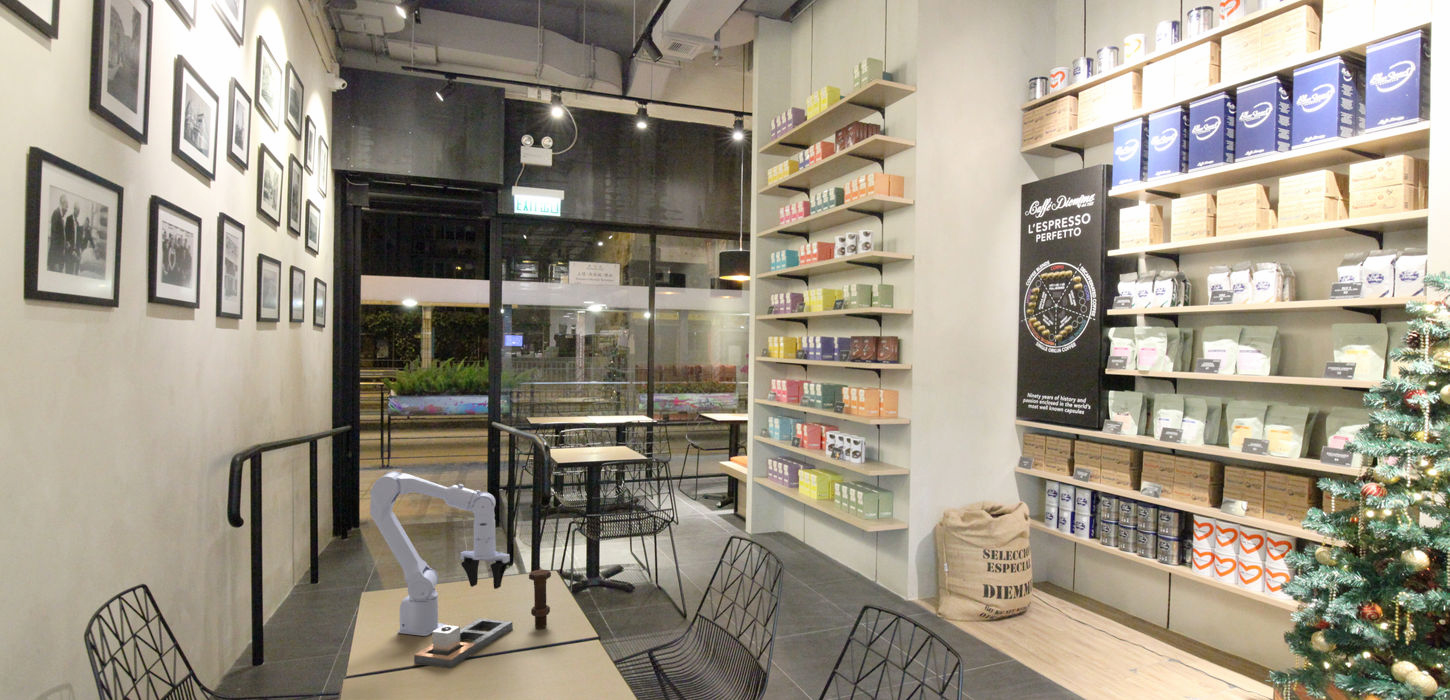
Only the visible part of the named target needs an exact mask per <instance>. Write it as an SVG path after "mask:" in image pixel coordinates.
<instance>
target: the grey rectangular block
mask: <svg viewBox="0 0 1450 700" xmlns="http://www.w3.org/2000/svg"><path fill="white" fill-rule="evenodd" d="M460 629H461V627H460V626H455V625H449V624H448V625H447V624H445V625H444V626H442V627H440V628H438V629H437V630H435V631H433V633H432V644H433V654H437V655H445V656H448V655H450V654H452V653H453V652H455V651H457V650H458V649H460V642H461V641H460Z"/></svg>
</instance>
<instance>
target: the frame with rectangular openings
mask: <svg viewBox="0 0 1450 700" xmlns="http://www.w3.org/2000/svg"><path fill="white" fill-rule="evenodd" d="M513 627H514V626H513V621H508V620H500V619H491V618H490V619H489V618H481V617H479V618H477V619H476V620H474V621H472V622H470V623H469V624H467V625H465V626H463V627H462V628H461V627H460V649H458V650H457V651H455V652H453V653H452V654H450V655H448V656H445V655H437V654H433V643H432V644H430V645H429V646H426V647H425V648H423V649H421V650H420V651H418V652H416V653H415V654H414V655H413V656H414V657H413V658H414V659H413V660H414V661H413V664H414V665H421V666H422V665H423V666H429V667H430V666H431V667H436V668H437V667H438V668H443V669H444V668H445V669H452V668H454V667H455V666H457V665H458V664H461V663H462V662H463V661H465V660H467V659H468V658H470V657H471V656H473V655H474V654H476V653H478V652H479V651H480V650H483V649H484V648H485V647H487V646H488V645H489V644H492V643H494V642H495V641H497V640H498V639H499V638H501V637H503V636H504V635H505V634H507V633H509V632H510V631H512V630H513ZM483 629H487V630H489V631H482V630H483ZM465 639H468V640H467V641H471V642H465V641H463V640H465ZM461 640H462V641H463V642H462V641H461ZM472 654H473V655H472ZM470 655H471V656H470ZM469 656H470V657H469ZM466 658H467V659H466Z"/></svg>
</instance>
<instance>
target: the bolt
mask: <svg viewBox="0 0 1450 700" xmlns="http://www.w3.org/2000/svg"><path fill="white" fill-rule="evenodd" d="M551 576H552V572H551V571H550V570H549V569H537V570H536V569H535V570H532V571H530V573H529V574H528V579H529V580H530V581H531V580H532V581H533V590H534V591H533V592H534V597H533V598H534V606H532V608H531V609H530V610H531V611H530V614H531V615H532V616H533V617H534V628H536V629H545V628H546V627H547V625H548V623H547V622H548V618H547V616H548V615H549V614H550V612H551V607H550V606H549V605H547V580H548V579H550V578H551Z"/></svg>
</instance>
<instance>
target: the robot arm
mask: <svg viewBox="0 0 1450 700" xmlns="http://www.w3.org/2000/svg"><path fill="white" fill-rule="evenodd" d="M464 486H465V485H464V484H462V483H458V485H457V484H453V485H451V486H448V487H447V486H445V485H442V484H438V483H435V482H432V481H429V480H427V479H425V478H421V477H418V476H415V475H412V474H409V473H405V472H399V471H395V470H393V471H388V472H387V473H385V474H384V475H383V476H381V477H378V478H377V479H376V481H374V483H373V485H372V488H371V489H370V491H369V494H370V503H369V504H370V506H369V507H370V508H369V514H370V517H371V519H372V520H373V522H374V524H375V526H376V527H377V529H378V530H379V532H380V534H381V536H382V537H383V539H384V540H385V542H386V544H387V545H388V548H389V549H390V551H391V553H392V554H393V555H394V557H395V559H396V561H397V563H398V564H399V566H400V567H401V569H402V572H403V578H404V581H405V583H406V585H407V593H408V595H407V596H406V597H404V598H403V599H402V601H401V603H400V606H399V630H397V633H398V634H406V635H412V636H413V635H415V636H420V637H421V636H422V637H427V636H429V635H431V634H433V631H435V630H437V629H438V628H440V627H442V626H444V625H446V623H440V622H439V593H438V591H437V590H436V589H435V588H436V586H437V584H438V583H439V575H438V573H437V571H436V570H434V569H433V568H431V567H430V566H429V564H428V563H427V561H425V560H424V559H422V558H421V557H420V555H419V553H418V551H417V549H416V548H415V546H414V545H413V543H412V541H411V539H410V538H409V536H408V535H407V533H406V531H405V529H404V528H403V526H402V524H401V523H400V521H399V519H398V518H397V515H396V513H394V511H393V508H394V505H395V503H396V500H397V498H398V496H399V495H400V496H403V495H407V494H410V493H418V494H422V495H426V496H429V497H433V498H438V499H441V500H443V501H444V503H445V505H446V506H449V507H452V508H456V509H460V510H464V511H467V512H472V513H473V516H474V518H473V550H464V551H461V552H460V560H463V561H462V562H461V563H460V564H461V567H462V568H463V570H464V572H465V573H466V575H467V579H468V581H469V585H470V587H471V588H472V587H475V586H477V585H478V577H479V575H478V574H479V572H478V570H479V566H480V564H479V563H480V561H485V562H486V561H487V562H493V563H491V564H490V569H491V573H492V578H493V589H494V590H497V589H499V588H500V587H502V582H503V578H504V574H505V571H506V569H507V567H508V566H509V563H510V559H511V558H510V557H511V556H510V553H505V552H499V551H496V549H497V548H496V547H497V546H496V545H497V543H496V519H495V517H496V514H495V507H496V503H497V502H496V497H495V496H494V495H493V494H491V493H489V492H488V491H482V490H479V489H477V490H475V489H470V488H467V487H464Z"/></svg>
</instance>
